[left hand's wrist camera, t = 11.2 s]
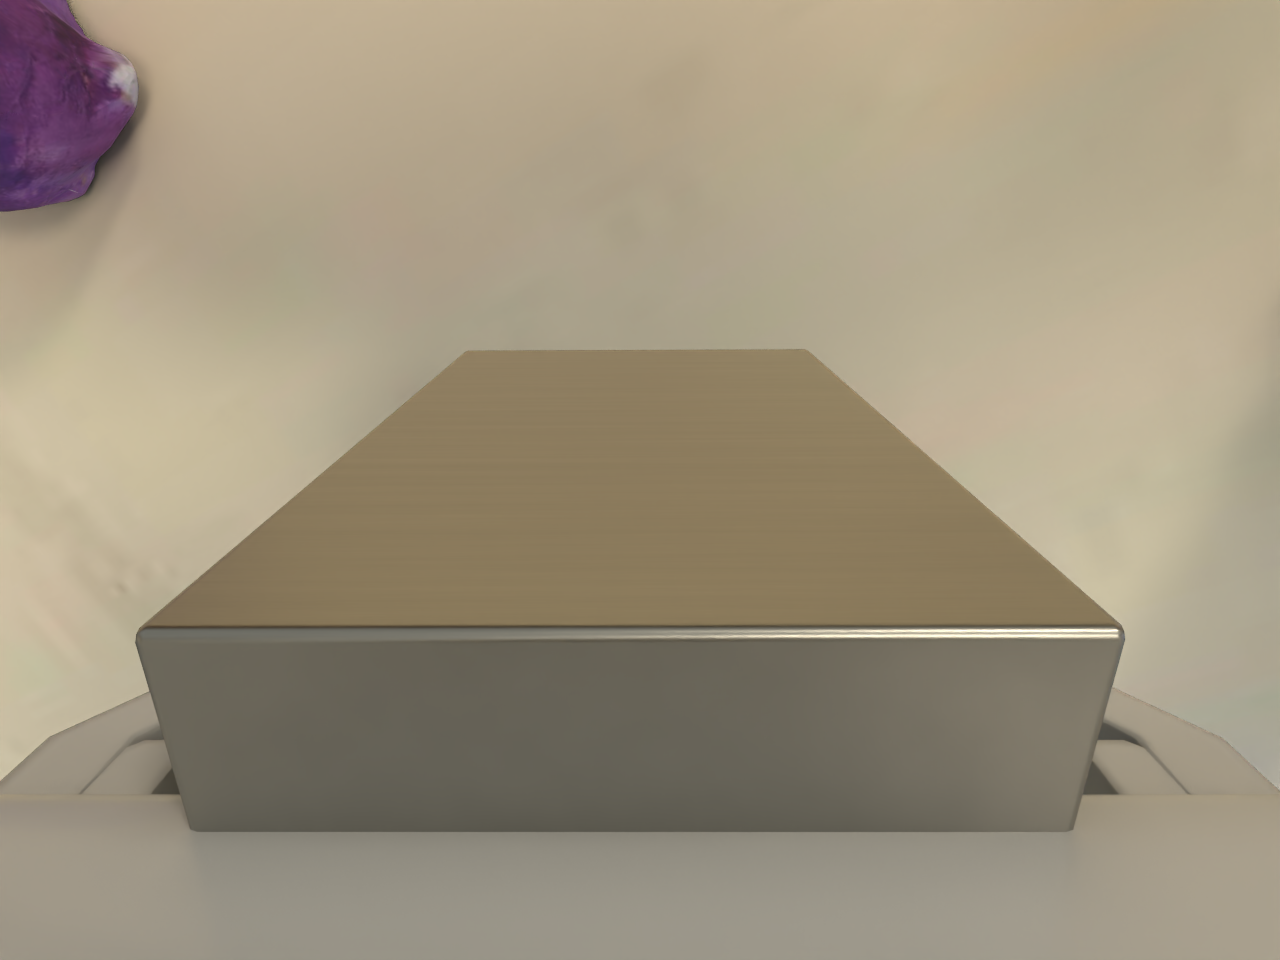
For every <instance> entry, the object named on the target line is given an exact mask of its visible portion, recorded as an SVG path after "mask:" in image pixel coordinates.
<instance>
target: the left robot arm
mask: <svg viewBox="0 0 1280 960" xmlns="http://www.w3.org/2000/svg"><path fill="white" fill-rule="evenodd" d="M0 960H1280V791H1279V790H1278V789H1277V788H1276V787H1275V786H1274V785H1273V784H1272V783H1271V782H1269V781H1268V780H1267V779H1266V778H1265V777H1264V776H1263V775H1262V774H1261V773H1260V772H1259V771H1258V770H1256V769H1255V768H1254V767H1253V766H1252V765H1251V764H1250V763H1249V762H1248V761H1247V760H1246V759H1245V758H1243V757H1242V756H1241V755H1240V754H1239V753H1238V752H1237V751H1236V750H1235V749H1234V748H1233V747H1232V746H1230V745H1229V744H1228V743H1227V742H1226V741H1225V740H1224V739H1223V738H1221V737H1219V736H1217V735H1215V734H1213V733H1210V732H1208V731H1206V730H1204V729H1202V728H1199V727H1197V726H1195V725H1193V724H1191V723H1189V722H1186V721H1184V720H1182V719H1180V718H1178V717H1176V716H1173V715H1171V714H1169V713H1167V712H1165V711H1163V710H1160V709H1158V708H1156V707H1154V706H1152V705H1149V704H1147V703H1145V702H1143V701H1141V700H1139V699H1136V698H1134V697H1132V696H1130V695H1128V694H1126V693H1123V692H1121V691H1119V690H1117V689H1115V688H1113V687H1112V689H1111V693H1110V696H1109V700H1108V704H1107V707H1106V711H1105V715H1104V718H1103V722H1102V726H1101V729H1100V733H1099V737H1098V740H1097V744H1096V748H1095V751H1094V755H1093V758H1092V762H1091V766H1090V769H1089V773H1088V777H1087V780H1086V784H1085V788H1084V791H1083V795H1082V799H1081V802H1080V806H1079V810H1078V813H1077V817H1076V821H1075V824H1074V828H1073V830H1071V831H1068V832H196V831H193V830H191V829H190V826H189V823H188V820H187V816H186V813H185V810H184V806H183V803H182V799H181V796H180V793H179V789H178V786H177V782H176V779H175V776H174V772H173V769H172V765H171V762H170V759H169V755H168V752H167V748H166V745H165V742H164V738H163V735H162V731H161V728H160V725H159V721H158V718H157V714H156V711H155V708H154V704H153V701H152V697H151V694H150V691H149V692H147V693H145V694H143V695H141V696H138V697H136V698H134V699H132V700H130V701H127V702H125V703H123V704H121V705H119V706H116V707H114V708H112V709H110V710H108V711H105V712H103V713H101V714H99V715H97V716H94V717H92V718H90V719H88V720H86V721H83V722H81V723H79V724H77V725H75V726H72V727H70V728H68V729H66V730H64V731H61V732H59V733H57V734H55V735H53V736H50V737H49V738H48V739H46V740H45V741H44V742H43V743H42V744H41V745H40V746H39V747H38V748H36V749H35V750H34V751H33V752H32V753H31V754H30V755H29V756H28V757H26V758H25V759H24V760H23V761H22V762H21V763H20V764H19V765H18V766H17V767H15V768H14V769H13V770H12V771H11V772H10V773H9V774H8V775H7V776H5V777H4V778H3V779H2V780H1V781H0Z"/></svg>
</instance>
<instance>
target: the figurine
mask: <svg viewBox="0 0 1280 960" xmlns="http://www.w3.org/2000/svg"><path fill="white" fill-rule="evenodd" d="M138 90H139V86H138V80H137V74H136V71H135V69H134V67H133V65H132V63H131V62H130V61H129V60H128V59H127V58H126V57H125V55H123V54H121V53H118V52H116V51H114V50H111V49H109V48H107V47H104V46H102V45H99V44H97V43H95V42H94V41H92V40H90V39H89V38H87V37H86V36H85V35H84V33H83V30H82V29H81V27H80V26H79V25H78V24H77V23H76V21H75V18H74V16H73V15H72V13H71V12H70V9H69V6H68V3H67V1H66V0H0V211H2V212H4V211H15V210H23V209H31V208H38V207H41V206H45V205H49V204H55V203H60V202H66V201H71V200H73V199H75V198H78V197H80V196H82V195H84V194H85V193H86V191H87V189H88V187H89V185H90V183H91V182H92V180H93V178H94V176H95V165H96V163H97V161H98V160H99V158H100V156H102V155H103V154H104V153H105V152H106V151H107V150H108V149H109V148H110V147H111V146H112V144H113V143H114V141H115V140H116V138H117V137H118V135H119V134H120V132H121V131H122V129H123V128H124V126H125V125H126V123H127V122H128V121H129V119H130V118H131V116H132V115H133V113H134V111H135V109H136V106H137V101H138Z"/></svg>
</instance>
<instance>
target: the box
mask: <svg viewBox="0 0 1280 960" xmlns="http://www.w3.org/2000/svg"><path fill="white" fill-rule="evenodd" d="M1124 641H1125V636H1124V630H1123V628H1122V626H1121V624H1120V623H1118V622H1117V621H1116V620H1115V619H1114V618H1113V617H1112V616H1110V615H1109V614H1108V613H1107V612H1106V611H1105V610H1104V609H1102V608H1101V607H1100V606H1099V605H1098V604H1097V603H1096V602H1094V601H1093V600H1092V599H1091V598H1090V597H1089V596H1088V595H1086V594H1085V593H1084V592H1083V591H1082V590H1081V589H1080V588H1078V587H1077V586H1076V585H1075V584H1074V583H1073V582H1072V581H1070V580H1069V579H1068V578H1067V577H1066V576H1065V575H1064V574H1062V573H1061V572H1060V571H1059V570H1058V569H1057V568H1056V567H1054V566H1053V565H1052V564H1051V563H1050V562H1049V561H1048V560H1046V559H1045V558H1044V557H1043V556H1042V555H1041V554H1040V553H1038V552H1037V551H1036V550H1035V549H1034V548H1033V547H1032V546H1030V545H1029V544H1028V543H1027V542H1026V541H1025V540H1024V539H1022V538H1021V537H1020V536H1019V535H1018V534H1017V533H1016V532H1015V531H1013V530H1012V529H1011V528H1010V527H1009V526H1008V525H1007V524H1005V523H1004V522H1003V521H1002V520H1001V519H1000V518H999V517H997V516H996V515H995V514H994V513H993V512H992V511H991V510H989V509H988V508H987V507H986V506H985V505H984V504H983V503H981V502H980V501H979V500H978V499H977V498H976V497H975V496H973V495H972V494H971V493H970V492H969V491H968V490H967V489H965V488H964V487H963V486H962V485H961V484H960V483H959V482H957V481H956V480H955V479H954V478H953V477H952V476H951V475H949V474H948V473H947V472H946V471H945V470H944V469H943V468H941V467H940V466H939V465H938V464H937V463H936V462H935V461H933V460H932V459H931V458H930V457H929V456H928V455H927V454H925V453H924V452H923V451H922V450H921V449H920V448H919V447H917V446H916V445H915V444H914V443H913V442H912V441H911V440H910V439H908V438H907V437H906V436H905V435H904V434H903V433H902V432H900V431H899V430H898V429H897V428H896V427H895V426H894V425H892V424H891V423H890V422H889V421H888V420H887V419H886V418H884V417H883V416H882V415H881V414H880V413H879V412H878V411H876V410H875V409H874V408H873V407H872V406H871V405H870V404H868V403H867V402H866V401H865V400H864V399H863V398H862V397H860V396H859V395H858V394H857V393H856V392H855V391H854V390H852V389H851V388H850V387H849V386H848V385H847V384H846V383H844V382H843V381H842V380H841V379H840V378H839V377H838V376H836V375H835V374H834V373H833V372H832V371H831V370H830V369H828V368H827V367H826V366H825V365H824V364H823V363H822V362H820V361H819V360H818V359H817V358H816V357H815V356H814V355H813V354H811V353H810V352H809V351H807V350H805V349H784V350H535V351H467V352H465V353H463V354H462V355H461V356H460V357H459V358H458V359H456V360H455V361H454V362H453V363H452V364H450V365H449V366H448V367H447V368H446V369H445V370H443V371H442V372H441V373H440V374H439V375H438V376H436V377H435V378H434V379H433V380H432V381H430V382H429V383H428V384H427V385H426V386H425V387H423V388H422V389H421V390H420V391H419V392H417V393H416V394H415V395H414V396H413V397H412V398H410V399H409V400H408V401H407V402H406V403H404V404H403V405H402V406H401V407H400V408H399V409H397V410H396V411H395V412H394V413H393V414H391V415H390V416H389V417H388V418H387V419H386V420H384V421H383V422H382V423H381V424H380V425H379V426H377V427H376V428H375V429H374V430H373V431H371V432H370V433H369V434H368V435H367V436H366V437H364V438H363V439H362V440H361V441H360V442H358V443H357V444H356V445H355V446H354V447H353V448H351V449H350V450H349V451H348V452H347V453H345V454H344V455H343V456H342V457H341V458H340V459H338V460H337V461H336V462H335V463H334V464H332V465H331V466H330V467H329V468H328V469H327V470H325V471H324V472H323V473H322V474H321V475H320V476H318V477H317V478H316V479H315V480H314V481H312V482H311V483H310V484H309V485H308V486H307V487H305V488H304V489H303V490H302V491H301V492H299V493H298V494H297V495H296V496H295V497H294V498H292V499H291V500H290V501H289V502H288V503H286V504H285V505H284V506H283V507H282V508H281V509H279V510H278V511H277V512H276V513H275V514H273V515H272V516H271V517H270V518H269V519H268V520H266V521H265V522H264V523H263V524H262V525H260V526H259V527H258V528H257V529H256V530H255V531H253V532H252V533H251V534H250V535H249V536H248V537H246V538H245V539H244V540H243V541H242V542H240V543H239V544H238V545H237V546H236V547H235V548H233V549H232V550H231V551H230V552H229V553H227V554H226V555H225V556H224V557H223V558H222V559H220V560H219V561H218V562H217V563H216V564H214V565H213V566H212V567H211V568H210V569H209V570H207V571H206V572H205V573H204V574H203V575H201V576H200V577H199V578H198V579H197V580H196V581H194V582H193V583H192V584H191V585H190V586H189V587H187V588H186V589H185V590H184V591H183V592H181V593H180V594H179V595H178V596H177V597H176V598H174V599H173V600H172V601H171V602H170V603H168V604H167V605H166V606H165V607H164V608H163V609H161V610H160V611H159V612H158V613H157V614H155V615H154V616H153V617H152V618H151V619H150V620H148V621H147V622H146V623H145V624H144V625H142V626H141V627H140V628H139V630H138V632H137V634H136V642H135V643H136V646H137V650H138V653H139V657H140V660H141V663H142V667H143V670H144V674H145V677H146V680H147V684H148V687H149V691H150V694H151V697H152V701H153V704H154V708H155V711H156V714H157V718H158V721H159V725H160V728H161V731H162V735H163V738H164V742H165V745H166V748H167V752H168V755H169V759H170V762H171V765H172V769H173V772H174V776H175V779H176V782H177V786H178V789H179V793H180V796H181V799H182V803H183V806H184V810H185V813H186V816H187V820H188V823H189V826H190V829H191V830H193V831H196V832H1068V831H1071V830H1073V828H1074V824H1075V821H1076V817H1077V813H1078V810H1079V806H1080V802H1081V799H1082V795H1083V791H1084V788H1085V784H1086V780H1087V777H1088V773H1089V769H1090V766H1091V762H1092V758H1093V755H1094V751H1095V748H1096V744H1097V740H1098V737H1099V733H1100V729H1101V726H1102V722H1103V718H1104V715H1105V711H1106V707H1107V704H1108V700H1109V696H1110V693H1111V689H1112V685H1113V682H1114V678H1115V674H1116V671H1117V667H1118V663H1119V660H1120V656H1121V652H1122V649H1123V645H1124Z"/></svg>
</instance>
